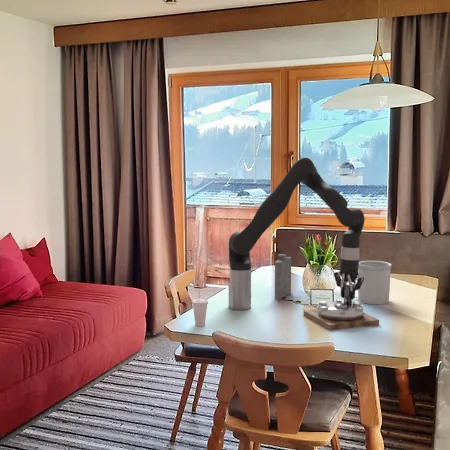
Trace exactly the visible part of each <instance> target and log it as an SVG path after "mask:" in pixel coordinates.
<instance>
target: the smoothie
mask: <svg viewBox="0 0 450 450" xmlns="http://www.w3.org/2000/svg"><path fill="white" fill-rule="evenodd" d="M197 293H198V294H197V295H198V297H197V298H196V299H193V300H191V304H192V309H193V316H194V322H195V323H194V324H195V326H197V327H203V326H206V317H207V311H208V304H209V300H207V299H204V298H200V297H201V295H200V293H201V290H200V289H198V290H197Z"/></svg>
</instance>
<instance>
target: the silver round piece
mask: <svg viewBox="0 0 450 450" xmlns="http://www.w3.org/2000/svg"><path fill="white" fill-rule="evenodd" d="M350 291H351V290H350V286H349V284H347V285H344V298H343V301H342V299H341V298H340V299H338V298H337V299H335V301H329V302H327V301H322V300H320V301H318V308H317V309H318V314H319V315H320V316H321V317H324V318H327V319H333V320H356V319H360V318H362V317H363V312H364V307H363V306H362V302H360V301H357V302H356V301H355V302H353V300H350V299H349V298H350Z"/></svg>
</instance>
